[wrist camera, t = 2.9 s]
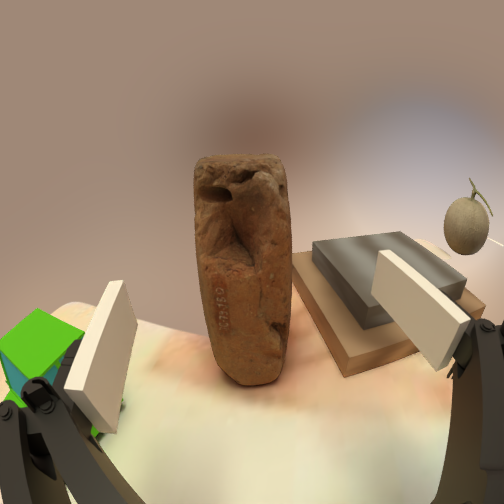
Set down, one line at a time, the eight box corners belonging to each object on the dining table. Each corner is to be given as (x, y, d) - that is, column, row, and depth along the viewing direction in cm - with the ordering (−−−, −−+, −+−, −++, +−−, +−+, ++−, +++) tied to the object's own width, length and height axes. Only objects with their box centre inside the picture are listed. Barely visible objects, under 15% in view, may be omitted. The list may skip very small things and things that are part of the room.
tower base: (398, 254, 46) (402, 223, 44) (478, 323, 27) (493, 286, 24) (286, 271, 44) (286, 236, 41) (344, 377, 24) (355, 334, 22)
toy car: (9, 446, 13) (-52, 382, 9) (72, 375, 24) (32, 305, 20) (67, 507, 10) (-16, 453, 6) (136, 410, 21) (92, 335, 17)
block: (225, 320, 34) (205, 152, 25) (286, 319, 33) (285, 147, 24) (211, 390, 24) (167, 170, 15) (291, 391, 23) (297, 162, 15)
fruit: (466, 269, 39) (483, 190, 33) (430, 244, 49) (440, 174, 43) (492, 261, 40) (507, 191, 34) (458, 239, 51) (468, 176, 44)
